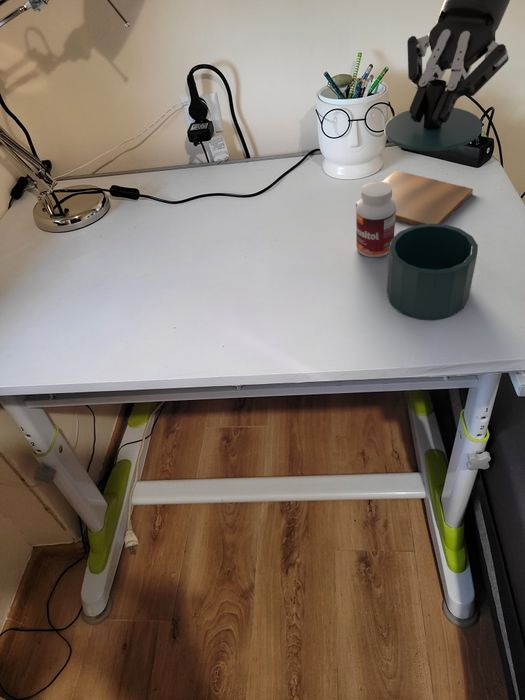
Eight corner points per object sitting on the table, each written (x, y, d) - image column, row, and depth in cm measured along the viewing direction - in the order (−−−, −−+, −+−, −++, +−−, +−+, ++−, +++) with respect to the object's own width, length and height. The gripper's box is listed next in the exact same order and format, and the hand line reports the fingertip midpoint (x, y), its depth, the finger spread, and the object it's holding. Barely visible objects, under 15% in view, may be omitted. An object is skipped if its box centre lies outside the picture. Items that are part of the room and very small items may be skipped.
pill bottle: (348, 250, 87) (347, 191, 79) (371, 233, 89) (372, 174, 81) (378, 263, 83) (379, 203, 75) (401, 245, 85) (405, 185, 78)
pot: (482, 285, 76) (492, 237, 70) (443, 331, 71) (451, 283, 65) (412, 261, 82) (416, 215, 76) (372, 301, 77) (373, 255, 71)
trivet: (472, 193, 93) (473, 188, 93) (434, 231, 87) (434, 226, 86) (395, 174, 102) (395, 170, 101) (355, 207, 95) (355, 203, 95)
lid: (497, 123, 69) (507, 70, 64) (452, 163, 63) (460, 110, 59) (413, 108, 76) (417, 60, 71) (366, 144, 70) (367, 94, 65)
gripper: (424, -37, 64) (369, 101, 67) (538, -36, 57) (470, 118, 60) (440, 0, 70) (389, 124, 74) (544, 5, 63) (482, 143, 66)
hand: (425, 121), depth 67 cm, fingers closed on lid, 2 cm apart
